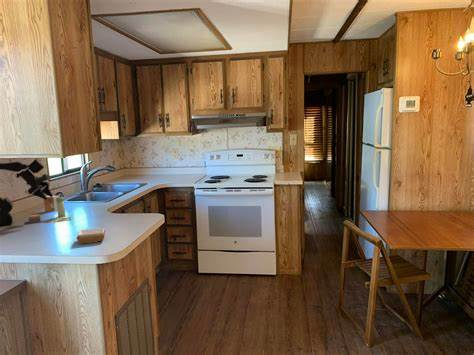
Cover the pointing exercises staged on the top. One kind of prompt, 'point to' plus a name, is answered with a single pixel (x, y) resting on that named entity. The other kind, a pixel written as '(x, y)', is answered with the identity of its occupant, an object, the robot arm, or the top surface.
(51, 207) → the small box
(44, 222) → the picture board
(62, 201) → the ball
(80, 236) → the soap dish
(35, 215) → the button
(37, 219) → the button housing
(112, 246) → the top surface
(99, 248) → the top surface
